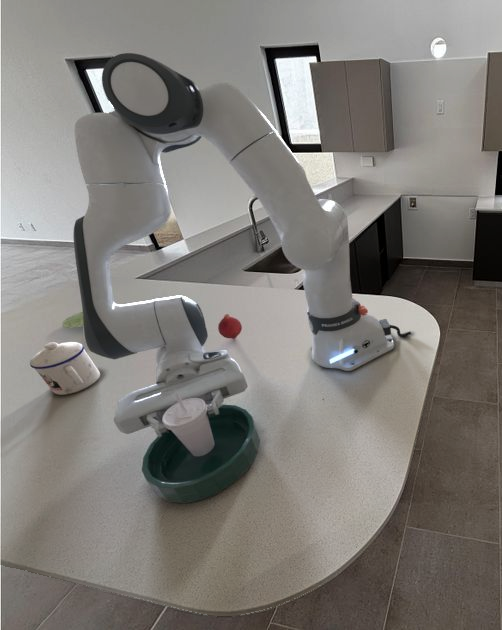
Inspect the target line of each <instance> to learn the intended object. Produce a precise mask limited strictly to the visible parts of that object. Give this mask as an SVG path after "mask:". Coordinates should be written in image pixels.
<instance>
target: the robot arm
mask: <svg viewBox="0 0 502 630" xmlns="http://www.w3.org/2000/svg"><path fill="white" fill-rule="evenodd" d="M101 74H102V75H101V83H102V84H101V85H102V89H103V92H104V95H105V97H106V99H107V101H108V103H109V104H110V106H111V107H112V108H113V111H109V112H92V113H88V114H85V115H83V116H81V117H79V118H78V119H77V120H76V122H75V124H74V139H75V146H76V153H77V157H78V162H79V163H78V164H79V167H80V170H81V174H82V177H83V180H84V182H85V183H84V184H85V186H86V190H87V193H88V194H87V195H88V206H87V209H86V212H85V214H84V215H83V216H81V217H79V218H77V219H76V220H75V222H74V225H73V234H72V235H73V236H72V237H73V248H74V257H75V265H76V272H77V280H78V286H79V294H80V300H81V308H82V312H83V326H82V335H83V340H84V343H85V345H86V346H87V348H88V350H89V351H90V352H91V353H93V354H95V355H97V356H100V357H104V358H105V359H110V360H119V359H122V358H126V357H128V356H131V355H135V354H138V353H141V352H146V351H150V350H155V349H156V355H155V358H156V359H155V360H156V370H155V371H156V372H155V373H156V374H155V376H156V377H155V379H156V380H155V384H152V385H149V386H146V387H143V388H140V389H136V390H134V391H131V392H129V393H127V394H125V395H124V396H123V397H122V398H120V399H119V400H118V402H117V407H116V410H115V412H114V416H113V423H114V425H115V426H116V428H117V429H118V430H119V432H121V433H123V434H125V435H130V434H133V433H135V432H138V431H140V430H144V429H146V428H149V427H150V428H151V429H153V430H154V432H155V434H156V437H161V436H163V435H166V434H168V433H169V429H167V428H166V427H165V426H164V423H163V421H162V418H163V415H164V413H165V412H166V411H167V410H168V409H169V408H170V407H171V406H173V405H174V404H176V403H178V401H177V399H176V397H175V395H174V394H175V393H178V394H179V396H180V398H181V400H185V399H190V398H199V399H202V400H203V401H204V402H205V404H206V405H207V412H208V414H209V416H210V417H212V416H215V415H217V414H219V410H218V408H219V407H220V406H221V405H223V403H224V401H225V399H227V398H231V397H233V396H235V395H239V394H241V393H244V392H245V391H246V390H247V388H248V383H247V380H246V377H245V375H244V372H243V370H242V368H241V366H240V365H239V363H238V362H237V360H234V359H233V358H232V357H231V356H230V353H229V352H228V351H227V350H225V349H224V350H223V349H221V350H215V351H206V347H205V344H206V342H207V340H208V336H209V335H208V329H207V326H206V321H205V317H204V313H203V311H202V309H201V307H200V305H199V304H198V303H197V302H196V301H194V300H192V299H191V298H190V297H187V296H184V295H174V296H167V297H162V298H155V299H151V300H145V301H138V302H131V303H125V304H119V303H116V302H115V301H114V295H113V286H112V279H111V270H110V260H111V258H112V256H113V254H115V252H117V251H118V250H120V249H122V248H124V247H125V246H127V245H129V244H131V243H134V242H137V241H139V240H141V239H143V238H146V237H148V236H151V235H152V234H155V233H156V232H158V231H159V230H161V229H162V228H163V227H164V226H165V225H166V224H167V222H168V221H169V219H170V217H171V214H172V209H171V201H170V195H169V191H168V187H167V185H166V180H165V177H164V173H163V169H162V164H161V155H162V153H164V154H165V153H166V154H167V153H171V152H174V151H177V150H180V149H183V148H187V147H190V146H193V145H195V144H197V143H198V142H199V141H201V139H202V138H203V139H206V140H207V141H208V142H210V143H211V144H212V145H213V146H214V147H215V148H216V149H217V150H218V152H220V154H221V155H222V156H223V158H224V159H225V160H226V161H227V162H228V164H229V165H230V166H231V167H232V168H233V170H234V171H235V172H236V173H237V174H238V176H239V177H240V178H241V179H242V180H243V182H244V183H245V184H246V186H247V187H248V188H249V189H250V191H252V193H253V194H254V196H256V198H257V199H258V201H259V202H260V204H261V206H262V207H263V208H264V210H265V212H266V214H267V216H268V218H269V219H270V222H271V223H272V225H273V227H274V229H275V230H276V233H277V234H278V237H279V239H280V245H281V249H282V253H283V255H284V256H285V259H287V261H288V262H289V263H290V264H291V265H293V266H294V267H296V268H297V269H299V270H300V269H301V270H303V275H302V285H303V290H304V295H305V299H306V305H307V310H306V312H307V313H306V314H307V321H308V325H309V329H310V331H311V336H312V349H311V359H312V361H313V362H314V363H315V364H316V365H318V366H319V367H323V368H327V369H338V370H341V371H345V372H351V371H353V370H355V369H358V368H359V367H362V366H363V365H365V364H367V363H370V362H372V361H374V360H375V359H376V358H378V357H380V356H382V355H384V354H386V353H389V352H390V351H392V350H393V349H394V348H395V340H394V338H393V336H392V329H393V330H396V333H397V336H398V337H400V338H404V337H407V336H409V335H411V334H412V332H411V331H407V332H405V333H401V330H400V328H399V326H396V325H392V324H390V323H389V321H388V319H387V318H383V319H378V318H376V317H375V315H372V314H371V313H368V312H369V310H368V309H367V308H366V306H364V305H361V303H360V302H359V301H358V300H356V299H355V298H354V297H353V292H352V291H353V290H352V282H351V269H350V268H351V267H350V266H351V265H350V264H351V263H350V262H351V261H350V260H351V259H350V258H351V257H350V237H349V236H350V235H349V223H348V221H349V220H348V216H347V213H346V211H345V209H344V208H343V206H342V205H340V204H339V202H336V201H335V200H332V199H328V198H327V199H326V198H321V199H318V198H317V196H316V194H315V192H314V190H313V189H312V186H311V184H310V182H309V180H308V177H307V174H306V170H305V168H304V167H303V165H302V164H301V163H300V161H299V160H298V158H297V157H296V156H295V155H294V153H293V152H292V151H291V149H290V148H289V146H288V145H287V143H286V142H285V141H284V139H283V138H282V136H281V135H280V134H279V133H278V131H277V129H276V128H275V127H274V126H273V124H272V123H271V122H270V120H269V119H268V118H267V116H266V115H265V114H264V113H263V112H262V110H260V109H259V108H258V107H257V105H256V104H255V103H254V102H253V101H252V99H250V98H249V97H248V96H247V94H246V93H245V92H243V91H242V90H241V89H240V88H239V87H237V86H236V85H234V84H232V83H229V82H216V83H212V84H210V85H207V86H206V87H204V88H202V89H199V88H198V86H197V84H196V83H195V82H194V80H192V79H190V78H188V77H186V76H185V75H183V74H181V73H179V72H178V71H176V70H174V69H172V68H171V67H169V66H167V65H166V64H164V63H162V62H160V61H158V60H156V59H154V58H152V57H149V56H147V55H143V54H139V53H136V52H135V53H133V52H125V53H119V54H117V55H114V56H113V57H111V58H110V59H109V60H107V62H106V63H105V65H104V67H103V69H102V72H101Z"/></svg>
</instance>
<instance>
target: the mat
mask: <svg viewBox="0 0 502 630" xmlns="http://www.w3.org/2000/svg"><path fill="white" fill-rule="evenodd" d="M61 326H62V328H65V329H75V328H81V327H83V311H81V312H78V313H75V314H73V315H71V316H68V317H67V318H66V319H64V320H63V321H62V323H61Z"/></svg>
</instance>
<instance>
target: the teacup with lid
mask: <svg viewBox="0 0 502 630" xmlns="http://www.w3.org/2000/svg"><path fill="white" fill-rule="evenodd" d="M29 366H30V367H31V368H32V369H34V370H35V371H36V372H37V374H38V375H39V377H41V379H42V380H43V381H44V383H46V385H47V386H48V387H49V388H50V390H51V392H52V393H54V394H56V395H61V396H63V395H69V394H70V395H71V394H74V393H77V392H80V391H82V390H84V389H87V388H88V387H90V386H92V385H93V384H95V383H96V382H97V380H99V378H100V376H101V373H100V370H99V369H98V368H97V366H96V364H95V363H94V362H93V360H92V358H91V357H90V355H89V354H88V353H87V351H86V350H85V346H84V345H83V344H82V343H81V342H77V341H68V342H61V343H57V342H54V341H52V342H51V341H50V342H48V343H46V344H45V345H44V348H43V349H42V350H40V351H39V352H37V353H35V354H34V355H33V356H32V357H31V358H30V360H29Z"/></svg>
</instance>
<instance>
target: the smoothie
mask: <svg viewBox="0 0 502 630" xmlns="http://www.w3.org/2000/svg"><path fill="white" fill-rule="evenodd" d="M174 395H175V397H176V399H177V401H178V403H176V404H174V405H173V406H171V407H170V408H169V409H168V410H167V411H166V412H165V413H164V415H163V418H162V421H163V423H164V426H165V427H166V428H167V429H169V430H171V431H172V432H173V433H174V434H175V435H176V436H177V437H178V439H179V440H180V441H181V442H182V443H183V444H184V445H185V446H186V448H187V449H188V450H189V451H190V452H191V453H192V454H193V455H194V456H203V455H205V454H207V453H209V452H210V451H211V450H212V449H213V447H214V444H215V443H214V439H213V435H212V432H211V428H210V424H209V420H208V416H207V405H206V404H205V402H204V401H203V400H202V399H199V398H190V399H185V400H181V398H180V396H179V394H178V393H175V394H174Z"/></svg>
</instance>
